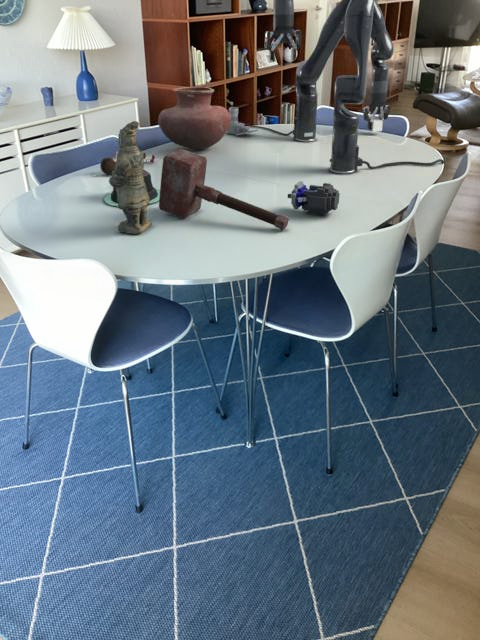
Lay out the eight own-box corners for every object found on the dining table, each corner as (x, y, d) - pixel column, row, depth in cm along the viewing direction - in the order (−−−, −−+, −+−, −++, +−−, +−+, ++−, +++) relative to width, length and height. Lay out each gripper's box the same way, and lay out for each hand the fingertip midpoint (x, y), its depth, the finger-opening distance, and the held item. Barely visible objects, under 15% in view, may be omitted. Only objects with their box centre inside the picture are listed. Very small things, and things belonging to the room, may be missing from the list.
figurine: (161, 151, 222) (115, 157, 203) (161, 170, 225) (116, 178, 206) (137, 147, 228) (90, 152, 209) (137, 166, 232) (91, 173, 212)
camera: (234, 105, 269) (258, 109, 260) (235, 130, 275) (258, 135, 266) (222, 108, 263) (246, 112, 254) (223, 134, 269) (246, 138, 260)
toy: (295, 178, 172) (342, 184, 166) (295, 205, 177) (340, 211, 171) (285, 186, 166) (333, 192, 160) (284, 213, 170) (331, 220, 164)
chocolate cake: (91, 202, 180) (113, 186, 197) (142, 231, 182) (160, 212, 199) (107, 162, 172) (129, 148, 190) (160, 192, 174) (177, 176, 192)
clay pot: (236, 141, 255) (235, 83, 242) (223, 158, 229) (221, 93, 216) (172, 140, 260) (168, 82, 247) (152, 156, 234) (146, 93, 221)
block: (376, 128, 264) (377, 118, 262) (381, 131, 260) (383, 120, 258) (367, 129, 263) (368, 119, 261) (373, 131, 259) (374, 121, 256)
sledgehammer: (299, 190, 156) (179, 147, 167) (285, 200, 148) (161, 154, 160) (286, 244, 166) (174, 200, 177) (272, 256, 158) (156, 209, 170)
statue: (131, 220, 168) (117, 116, 152) (158, 224, 164) (147, 118, 149) (109, 233, 159) (93, 124, 144) (138, 237, 156) (124, 126, 140)
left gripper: (387, 88, 257) (384, 126, 266) (360, 90, 254) (357, 129, 262) (396, 90, 251) (392, 129, 260) (368, 93, 248) (365, 132, 256)
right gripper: (297, 12, 211) (295, 59, 219) (262, 13, 207) (262, 61, 215) (305, 12, 205) (303, 60, 213) (269, 13, 201) (269, 62, 209)
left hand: (374, 129), depth 261 cm, fingers closed on block, 4 cm apart
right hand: (282, 60), depth 214 cm, fingers open, 8 cm apart
